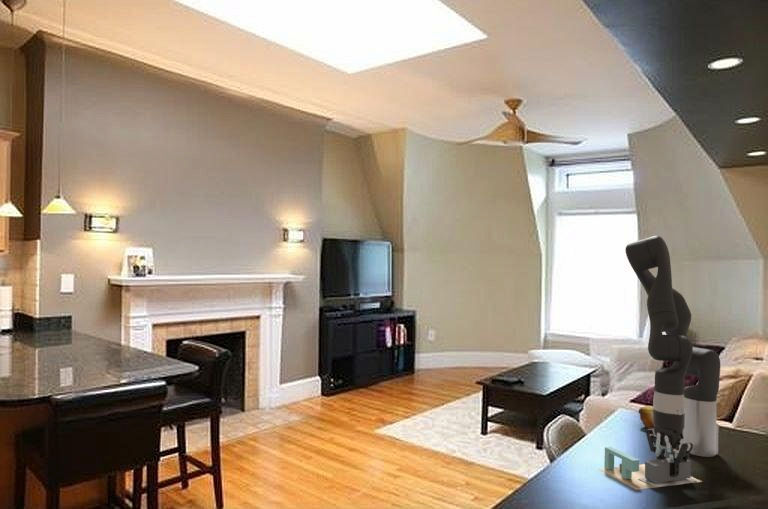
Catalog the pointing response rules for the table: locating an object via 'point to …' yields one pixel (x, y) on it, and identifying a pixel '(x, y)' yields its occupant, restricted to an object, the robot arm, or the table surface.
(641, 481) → the board
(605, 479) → the table surface
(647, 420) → the fruit
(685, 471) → the grey block
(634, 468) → the green bracket
